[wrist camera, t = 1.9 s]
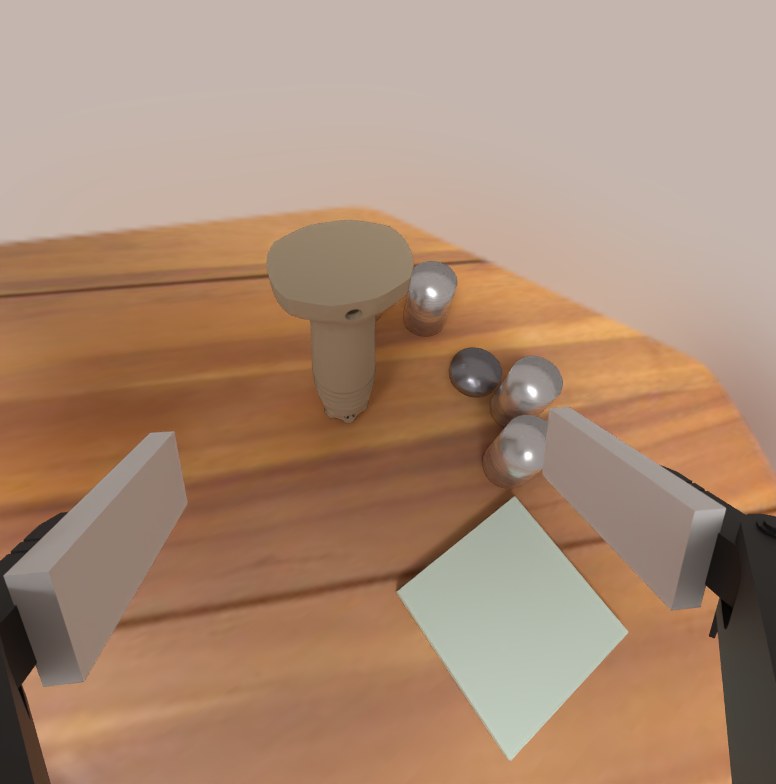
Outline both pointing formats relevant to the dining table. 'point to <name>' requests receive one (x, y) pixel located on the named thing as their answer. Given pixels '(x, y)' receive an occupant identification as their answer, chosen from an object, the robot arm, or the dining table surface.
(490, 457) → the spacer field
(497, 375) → the disc
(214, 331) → the dining table surface
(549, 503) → the dining table surface
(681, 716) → the dining table surface
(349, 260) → the handle
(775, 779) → the robot arm
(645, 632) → the dining table surface
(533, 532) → the pad
